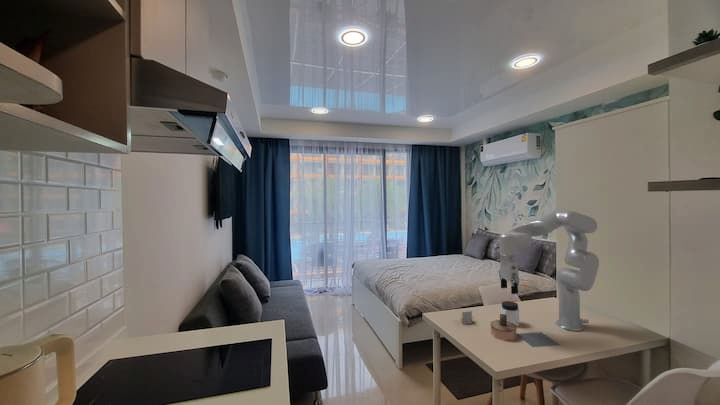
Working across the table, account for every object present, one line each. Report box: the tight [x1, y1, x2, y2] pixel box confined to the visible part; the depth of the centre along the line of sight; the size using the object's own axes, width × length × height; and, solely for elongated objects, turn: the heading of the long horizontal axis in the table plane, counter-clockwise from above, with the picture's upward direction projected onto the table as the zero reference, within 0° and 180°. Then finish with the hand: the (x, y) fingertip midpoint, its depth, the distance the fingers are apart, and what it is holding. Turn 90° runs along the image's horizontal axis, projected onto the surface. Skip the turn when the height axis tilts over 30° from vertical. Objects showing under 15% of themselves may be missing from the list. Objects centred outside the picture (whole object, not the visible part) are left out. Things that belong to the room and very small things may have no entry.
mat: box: [516, 331, 561, 348], centre depth 153 cm, size 14×14×1 cm
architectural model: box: [459, 310, 474, 325], centre depth 176 cm, size 3×7×7 cm, turn 97°
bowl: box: [490, 326, 517, 342], centre depth 158 cm, size 11×11×5 cm
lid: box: [490, 313, 518, 332], centre depth 158 cm, size 12×12×6 cm
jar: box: [500, 300, 520, 327], centre depth 171 cm, size 9×8×12 cm
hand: (509, 290), depth 159 cm, fingers open, 9 cm apart
